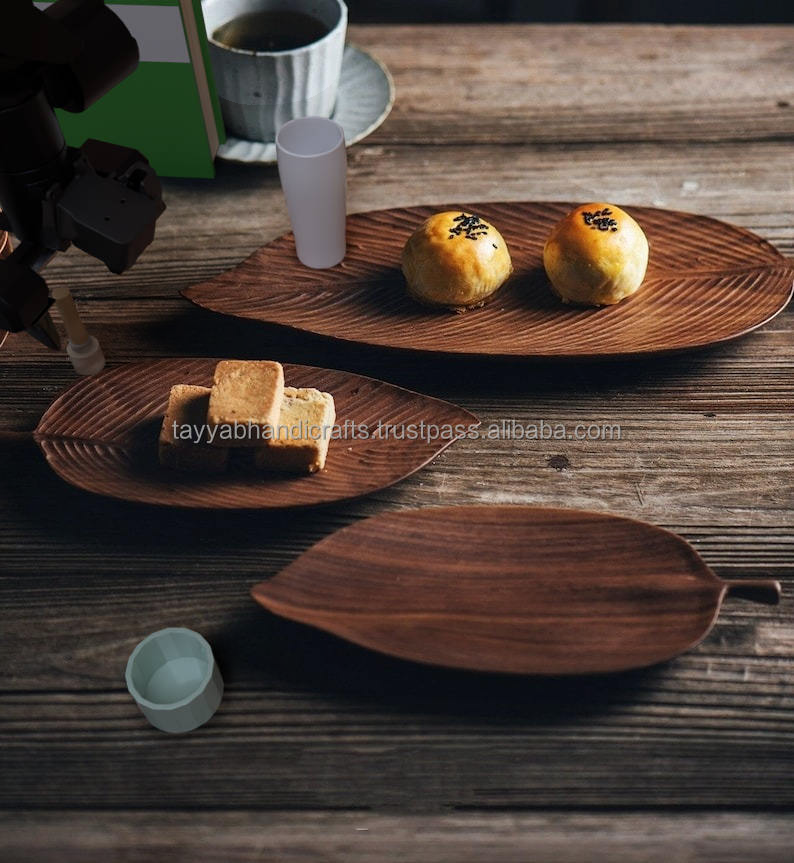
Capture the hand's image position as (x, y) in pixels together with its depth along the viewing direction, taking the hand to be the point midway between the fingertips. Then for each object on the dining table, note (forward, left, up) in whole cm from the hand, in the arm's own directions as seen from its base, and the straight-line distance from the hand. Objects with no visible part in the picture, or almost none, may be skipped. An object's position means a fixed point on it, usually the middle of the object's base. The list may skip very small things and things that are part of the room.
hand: (87, 309), depth 76 cm
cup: (-1, -29, -14) cm, 32 cm away
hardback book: (+10, +38, -14) cm, 42 cm away
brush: (-2, +7, -14) cm, 16 cm away
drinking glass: (+24, +14, -14) cm, 31 cm away
